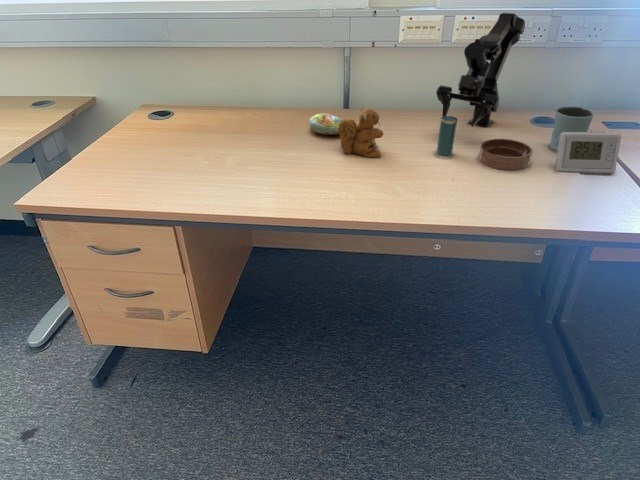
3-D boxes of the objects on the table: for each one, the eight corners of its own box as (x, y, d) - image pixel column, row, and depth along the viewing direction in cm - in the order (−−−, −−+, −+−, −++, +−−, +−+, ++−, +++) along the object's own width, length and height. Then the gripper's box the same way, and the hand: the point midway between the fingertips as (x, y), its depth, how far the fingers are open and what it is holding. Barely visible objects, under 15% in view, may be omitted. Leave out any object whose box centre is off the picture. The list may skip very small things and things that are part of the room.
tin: (445, 151, 143) (451, 114, 137) (455, 156, 139) (461, 119, 133) (432, 153, 142) (437, 117, 135) (441, 159, 138) (447, 122, 131)
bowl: (488, 148, 144) (491, 135, 141) (535, 159, 136) (539, 145, 134) (470, 164, 134) (473, 150, 132) (519, 176, 127) (523, 162, 125)
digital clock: (552, 173, 129) (562, 137, 123) (549, 160, 136) (558, 125, 130) (616, 180, 124) (630, 143, 118) (610, 166, 131) (623, 130, 126)
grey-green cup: (586, 148, 142) (598, 110, 136) (575, 158, 136) (587, 119, 130) (553, 140, 148) (563, 103, 141) (541, 150, 142) (551, 112, 135)
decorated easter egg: (329, 114, 166) (351, 110, 153) (329, 136, 167) (351, 134, 154) (302, 113, 161) (322, 108, 148) (302, 136, 162) (322, 133, 149)
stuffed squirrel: (382, 157, 140) (385, 115, 132) (336, 157, 140) (336, 115, 133) (381, 145, 148) (383, 104, 140) (337, 145, 149) (337, 104, 141)
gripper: (443, 58, 139) (424, 104, 138) (505, 68, 131) (486, 117, 130) (447, 77, 149) (430, 121, 148) (505, 88, 141) (487, 134, 141)
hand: (457, 123), depth 142 cm, fingers open, 9 cm apart
